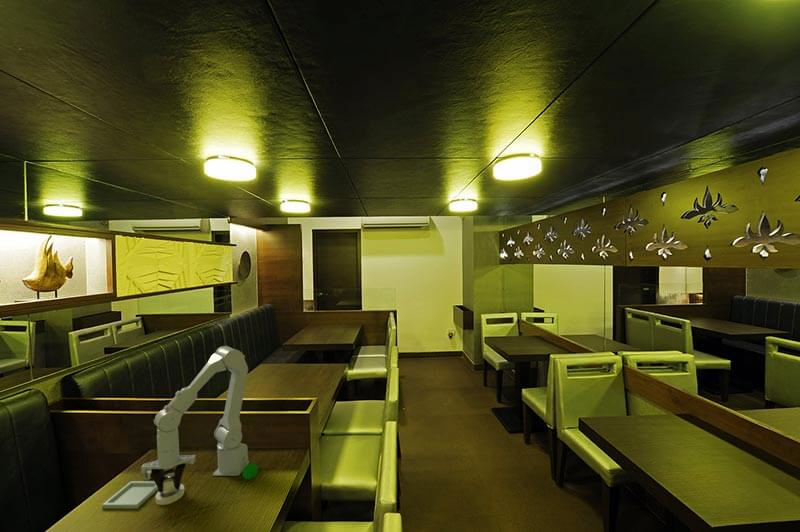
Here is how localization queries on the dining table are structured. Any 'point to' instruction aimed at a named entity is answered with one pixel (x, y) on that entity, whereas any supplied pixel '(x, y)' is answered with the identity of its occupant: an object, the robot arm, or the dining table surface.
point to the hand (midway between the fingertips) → (170, 488)
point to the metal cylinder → (169, 485)
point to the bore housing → (170, 499)
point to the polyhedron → (250, 471)
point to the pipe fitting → (147, 473)
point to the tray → (131, 495)
